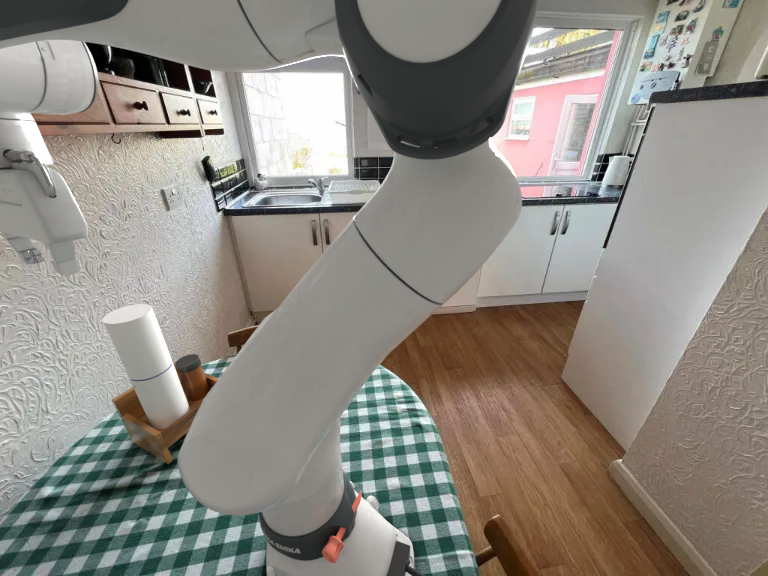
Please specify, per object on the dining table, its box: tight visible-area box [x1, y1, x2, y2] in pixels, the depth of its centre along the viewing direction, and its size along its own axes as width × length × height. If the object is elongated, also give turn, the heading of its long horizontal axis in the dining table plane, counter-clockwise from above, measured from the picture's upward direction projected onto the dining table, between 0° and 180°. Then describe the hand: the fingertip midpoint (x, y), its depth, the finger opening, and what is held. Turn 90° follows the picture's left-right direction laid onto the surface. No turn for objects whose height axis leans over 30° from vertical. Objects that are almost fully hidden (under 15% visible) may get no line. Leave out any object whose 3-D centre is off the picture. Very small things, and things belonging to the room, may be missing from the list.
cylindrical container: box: [102, 303, 190, 429], centre depth 61 cm, size 7×7×25 cm
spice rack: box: [111, 353, 220, 465], centre depth 67 cm, size 12×16×15 cm
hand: (51, 267), depth 40 cm, fingers open, 8 cm apart
